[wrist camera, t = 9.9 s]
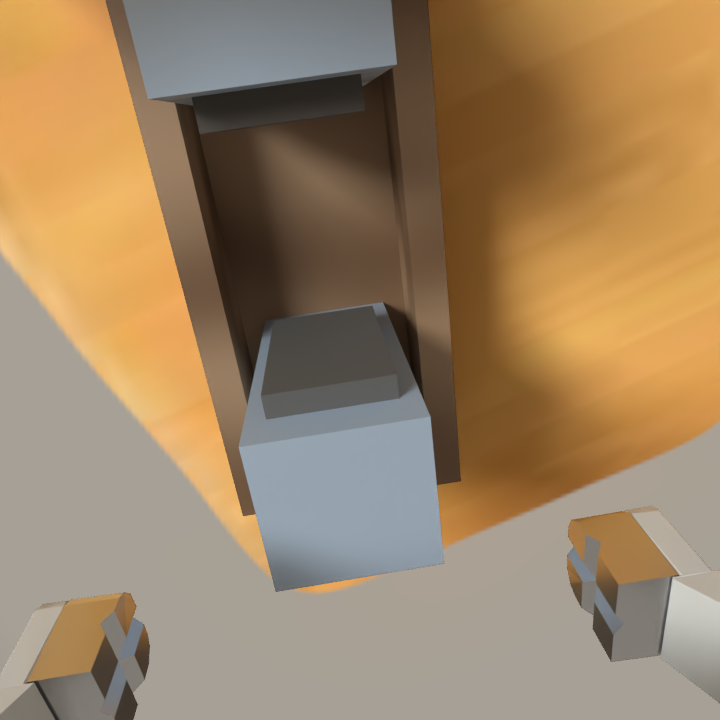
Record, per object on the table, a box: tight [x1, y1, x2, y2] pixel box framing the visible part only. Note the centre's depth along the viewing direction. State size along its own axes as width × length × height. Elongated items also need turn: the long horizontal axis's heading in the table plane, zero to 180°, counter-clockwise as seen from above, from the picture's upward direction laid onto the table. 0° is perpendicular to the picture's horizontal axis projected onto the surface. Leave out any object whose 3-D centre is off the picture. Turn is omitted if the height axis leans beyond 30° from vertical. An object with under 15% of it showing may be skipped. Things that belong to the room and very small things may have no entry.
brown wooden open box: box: [106, 0, 461, 516], centre depth 15 cm, size 17×8×9 cm, turn 7°
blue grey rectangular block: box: [239, 302, 444, 592], centre depth 16 cm, size 5×4×8 cm
